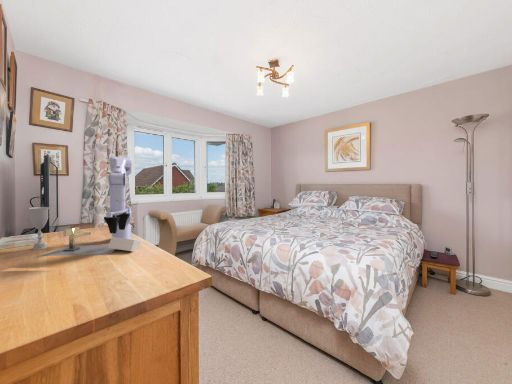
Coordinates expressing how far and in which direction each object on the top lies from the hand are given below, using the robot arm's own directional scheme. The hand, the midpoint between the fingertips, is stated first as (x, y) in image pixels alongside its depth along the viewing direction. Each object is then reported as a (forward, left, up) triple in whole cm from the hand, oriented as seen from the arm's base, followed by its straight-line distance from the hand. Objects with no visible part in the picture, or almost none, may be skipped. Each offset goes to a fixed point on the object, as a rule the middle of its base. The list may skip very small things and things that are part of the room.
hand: (117, 231), depth 101 cm
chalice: (-4, -35, -8) cm, 36 cm away
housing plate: (+3, -11, -8) cm, 14 cm away
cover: (+5, +5, -7) cm, 10 cm away
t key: (0, -17, -6) cm, 18 cm away
